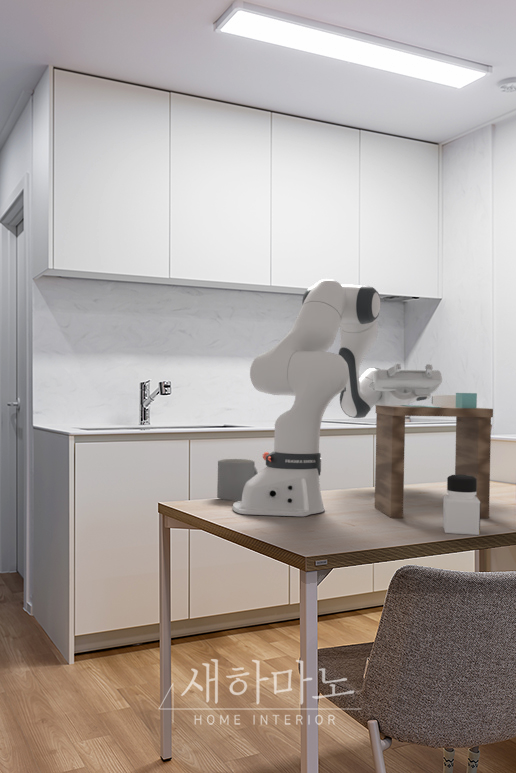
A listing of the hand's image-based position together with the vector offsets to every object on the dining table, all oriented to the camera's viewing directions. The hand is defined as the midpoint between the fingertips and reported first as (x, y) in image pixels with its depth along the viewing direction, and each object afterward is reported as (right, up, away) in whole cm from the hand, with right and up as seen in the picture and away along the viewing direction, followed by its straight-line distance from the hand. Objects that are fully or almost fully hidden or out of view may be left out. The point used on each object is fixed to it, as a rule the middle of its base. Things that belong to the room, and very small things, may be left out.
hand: (414, 366), depth 201 cm
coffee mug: (-50, -36, -12) cm, 63 cm away
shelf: (-3, -37, -30) cm, 48 cm away
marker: (+4, -11, -25) cm, 27 cm away
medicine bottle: (-2, -37, -52) cm, 64 cm away
